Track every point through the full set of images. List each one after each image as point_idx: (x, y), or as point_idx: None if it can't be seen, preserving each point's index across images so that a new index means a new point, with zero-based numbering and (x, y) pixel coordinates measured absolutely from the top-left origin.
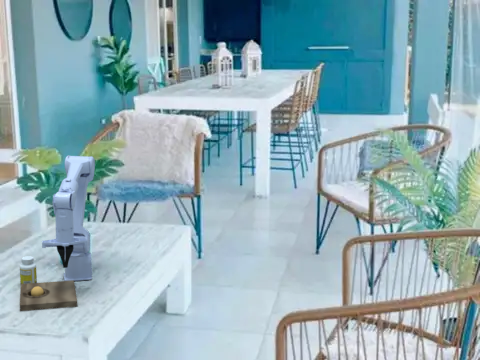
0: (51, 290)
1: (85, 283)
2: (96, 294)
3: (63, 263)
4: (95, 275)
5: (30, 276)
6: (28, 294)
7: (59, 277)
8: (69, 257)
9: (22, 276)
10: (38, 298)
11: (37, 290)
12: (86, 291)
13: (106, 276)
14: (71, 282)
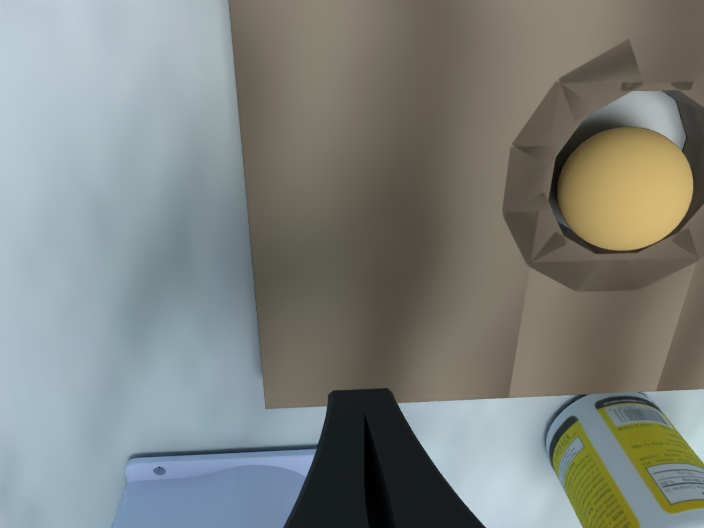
0: (483, 217)
1: (175, 405)
2: (43, 165)
3: (401, 428)
4: (109, 523)
5: (642, 454)
6: None
7: None
8: (293, 517)
9: (702, 463)
10: (651, 19)
11: (652, 156)
12: (152, 250)
13: (17, 502)
14: (286, 369)
